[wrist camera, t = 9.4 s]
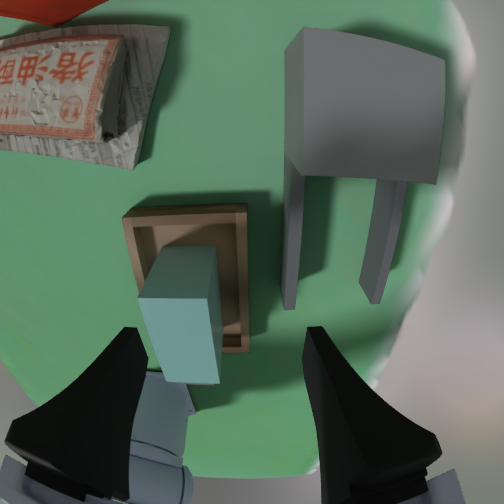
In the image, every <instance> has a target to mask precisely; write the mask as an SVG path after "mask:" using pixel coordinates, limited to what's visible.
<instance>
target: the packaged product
mask: <svg viewBox="0 0 504 504" xmlns="http://www.w3.org/2000/svg"><path fill="white" fill-rule="evenodd" d="M170 32H171V30H170V28H169V27H168V26H152V25H142V24H122V25H87V26H75V27H66V28H56V29H50V30H47V31H45V32H41V31H39V32H34V33H28V34H23V35H20V36H16V37H11V38H6V39H3V40H0V150H8V151H16V152H22V153H29V154H38V155H46V156H53V157H60V158H67V159H71V160H77V161H83V162H90V163H94V164H101V165H106V166H113V167H118V168H123V169H127V170H134V169H135V167H136V166H137V164H138V161H139V157H140V152H141V147H142V142H143V137H144V132H145V127H146V122H147V117H148V113H149V109H150V106H151V102H152V98H153V95H154V91H155V87H156V84H157V81H158V77H159V74H160V71H161V68H162V64H163V61H164V58H165V54H166V50H167V45H168V40H169V36H170Z"/></svg>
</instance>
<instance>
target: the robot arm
mask: <svg viewBox="0 0 504 504" xmlns="http://www.w3.org/2000/svg"><path fill="white" fill-rule="evenodd" d="M302 363H303V371H304V379H305V383H306V388H307V392H308V396H309V400H310V404H311V408H312V412H313V416H314V420H315V426H316V431H317V440H318V449H319V460H320V473H321V499H322V500H321V501H322V504H466V503H465V500H464V497H463V493H462V490H461V486H460V483H459V480H458V477H457V474H456V471H455V469H452V470H450V471H447V472H446V473H443V474H441V475H439V476H436V477H434V478H432V479H430V480H428V481H426V479H425V476H426V475H427V474H428V473H427V470H426V467H427V466H429V465H430V464H432V463H433V462H434V461H436V460H437V459H438V458H439V457H440V456H441V455H442V450H441V447H440V444H439V442H438V440H437V438H436V436H435V434H434V433H431V432H430V431H428V430H426V429H424V428H423V427H421V426H419V425H417V424H415V423H414V422H412V421H411V420H409V419H408V418H406V417H405V416H403V415H402V414H400V413H399V412H398V411H397V410H395V409H394V408H393V407H391V406H390V405H389V404H388V403H386V402H385V401H384V400H383V399H382V398H381V397H380V396H379V395H377V394H376V393H375V392H374V391H373V390H372V389H371V388H370V387H369V386H368V385H367V384H366V383H365V382H364V381H363V379H362V378H361V377H360V376H359V375H358V374H357V373H356V372H355V370H354V369H353V368H352V367H351V366H350V364H349V363H348V362H347V360H346V359H345V358H344V357H343V355H342V354H341V353H340V351H339V350H338V349H337V347H336V346H335V344H334V343H333V341H332V340H331V339H330V337H329V336H328V334H327V332H326V331H325V329H324V328H323V327H322V326H316V327H307V332H306V338H305V344H304V350H303V356H302ZM147 365H148V356H147V353H146V351H145V348H144V346H143V343H142V340H141V338H140V335H139V332H138V329H137V328H134V327H124V328H123V329H122V330H121V331H120V332H119V334H118V335H117V336H116V337H115V338H114V339H113V340H112V341H111V343H110V344H109V345H108V346H107V347H106V348H105V350H104V351H103V352H102V353H101V354H100V355H99V356H98V357H97V358H96V360H95V361H94V362H93V363H92V364H91V365H90V366H89V367H88V368H87V369H86V370H85V371H84V372H83V373H82V374H81V375H80V376H79V377H78V378H77V379H76V380H75V381H74V382H72V383H71V384H70V385H69V386H68V387H67V388H65V389H64V390H63V391H62V392H60V393H59V394H58V395H56V396H55V397H53V398H52V399H51V400H49V401H48V402H46V403H45V404H43V405H42V406H40V407H38V408H37V409H35V410H33V411H31V412H30V413H28V414H25V415H23V416H21V417H19V418H17V419H15V420H13V421H12V424H11V426H10V428H9V431H8V433H7V436H6V439H5V444H6V445H7V446H8V447H9V448H10V449H11V450H13V451H14V452H15V453H17V454H18V455H19V456H20V457H22V458H23V459H25V460H26V461H27V462H28V464H27V466H25V465H24V464H22V463H20V462H18V461H16V460H15V459H13V458H11V457H9V456H8V455H5V457H4V460H3V463H2V466H1V470H0V499H2V500H3V501H4V502H6V503H7V504H123V503H119V502H116V501H113V500H111V499H115V500H118V501H121V502H125V503H128V504H191V500H192V496H193V476H192V473H191V472H190V470H189V468H188V467H187V466H184V465H182V464H183V458H181V457H182V456H183V454H184V450H185V441H186V432H187V423H188V416H195V415H196V411H195V408H194V405H193V402H192V399H191V396H190V393H189V390H188V387H187V384H179V382H167V381H166V379H165V377H164V374H163V372H151V371H147Z"/></svg>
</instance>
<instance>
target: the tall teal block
mask: <svg viewBox="0 0 504 504" xmlns="http://www.w3.org/2000/svg"><path fill="white" fill-rule="evenodd" d="M137 299H138V302H139V305H140V308H141V312H142V315H143V318H144V321H145V324H146V327H147V330H148V333H149V336H150V339H151V342H152V345H153V347H154V350H155V353H156V356H157V358H158V361H159V364H160V366H161V369H162V372H163V374H164V377H165V379H166V381H167V382H179V384H191V385H214V384H220V374H221V358H222V343H223V329H224V326H223V317H222V307H221V297H220V286H219V275H218V264H217V252H216V245H210V246H171V247H162V248H161V250H160V252H159V254H158V256H157V258H156V260H155V262H154V264H153V266H152V268H151V270H150V272H149V274H148V276H147V278H146V280H145V282H144V285H143V287H142V289H141V291H140V293H139V295H138V298H137Z"/></svg>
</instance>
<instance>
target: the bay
mask: <svg viewBox="0 0 504 504" xmlns="http://www.w3.org/2000/svg"><path fill="white" fill-rule="evenodd" d="M444 111H445V60H443V59H441V58H438V57H435V56H433V55H430V54H427V53H424V52H421V51H418V50H415V49H412V48H409V47H405V46H402V45H398V44H395V43H391V42H387V41H383V40H379V39H375V38H371V37H366V36H361V35H356V34H351V33H346V32H340V31H333V30H326V29H318V28H309V27H303V28H302V29H301V30H300V32H299V33H298V34H297V35H296V37H295V38H294V39H293V40H292V42H291V43H290V44H289V45H288V47H287V48H286V49H285V151H284V193H283V223H282V248H281V269H280V290H281V296H282V302H283V308H284V310H295V304H296V294H297V284H298V273H299V262H300V250H301V237H302V223H303V208H304V191H305V176H333V177H354V178H370V179H377V183H376V190H375V198H374V204H373V211H372V217H371V223H370V229H369V235H368V240H367V246H366V251H365V256H364V261H363V266H362V270H361V275H360V279H359V283H360V285H361V287H362V289H363V291H364V292H365V294H366V296H367V298H368V300H369V302H370V304H380V301H381V298H382V295H383V291H384V288H385V285H386V281H387V277H388V274H389V270H390V266H391V262H392V258H393V254H394V250H395V246H396V242H397V237H398V233H399V228H400V223H401V218H402V213H403V208H404V202H405V197H406V191H407V184H408V182H417V183H426V184H435V185H436V182H437V175H438V169H439V162H440V155H441V146H442V137H443V126H444Z"/></svg>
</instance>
